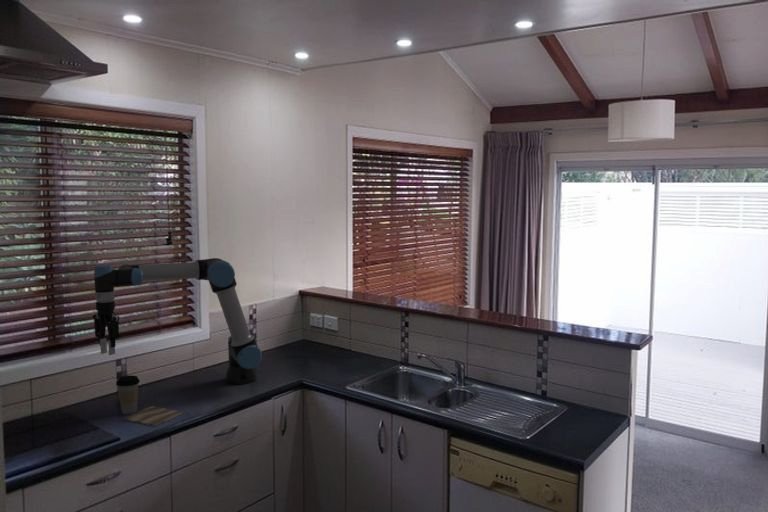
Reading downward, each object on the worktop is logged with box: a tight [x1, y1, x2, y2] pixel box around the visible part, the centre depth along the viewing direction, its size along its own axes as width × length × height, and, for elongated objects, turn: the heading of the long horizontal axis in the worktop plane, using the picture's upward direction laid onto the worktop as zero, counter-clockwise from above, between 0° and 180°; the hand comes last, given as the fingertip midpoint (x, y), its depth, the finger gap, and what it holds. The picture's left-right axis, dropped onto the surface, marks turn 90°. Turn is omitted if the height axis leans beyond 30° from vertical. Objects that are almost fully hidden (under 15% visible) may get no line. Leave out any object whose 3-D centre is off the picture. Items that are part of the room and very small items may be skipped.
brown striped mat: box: [122, 405, 185, 427], centre depth 266 cm, size 18×16×1 cm
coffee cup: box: [116, 375, 140, 415], centre depth 271 cm, size 9×9×15 cm
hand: (108, 353), depth 273 cm, fingers open, 4 cm apart
